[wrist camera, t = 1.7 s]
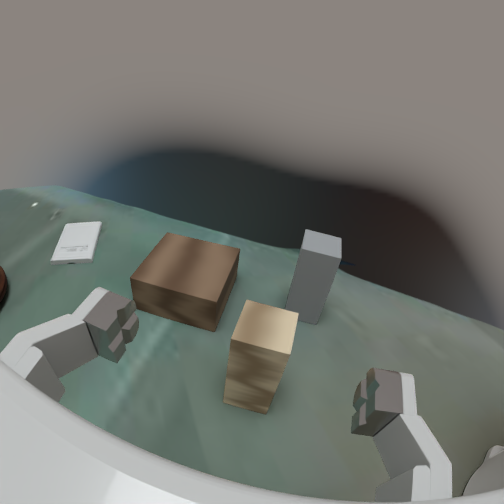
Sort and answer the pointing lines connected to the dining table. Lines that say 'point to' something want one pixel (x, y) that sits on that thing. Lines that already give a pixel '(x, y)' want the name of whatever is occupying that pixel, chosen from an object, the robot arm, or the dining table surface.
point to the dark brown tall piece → (2, 283)
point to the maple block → (258, 355)
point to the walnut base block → (186, 280)
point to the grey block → (313, 275)
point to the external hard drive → (77, 243)
